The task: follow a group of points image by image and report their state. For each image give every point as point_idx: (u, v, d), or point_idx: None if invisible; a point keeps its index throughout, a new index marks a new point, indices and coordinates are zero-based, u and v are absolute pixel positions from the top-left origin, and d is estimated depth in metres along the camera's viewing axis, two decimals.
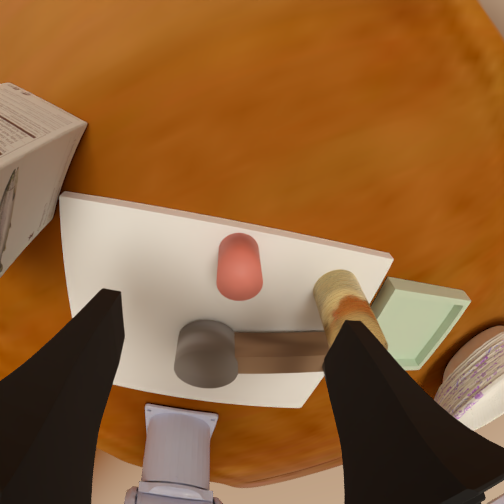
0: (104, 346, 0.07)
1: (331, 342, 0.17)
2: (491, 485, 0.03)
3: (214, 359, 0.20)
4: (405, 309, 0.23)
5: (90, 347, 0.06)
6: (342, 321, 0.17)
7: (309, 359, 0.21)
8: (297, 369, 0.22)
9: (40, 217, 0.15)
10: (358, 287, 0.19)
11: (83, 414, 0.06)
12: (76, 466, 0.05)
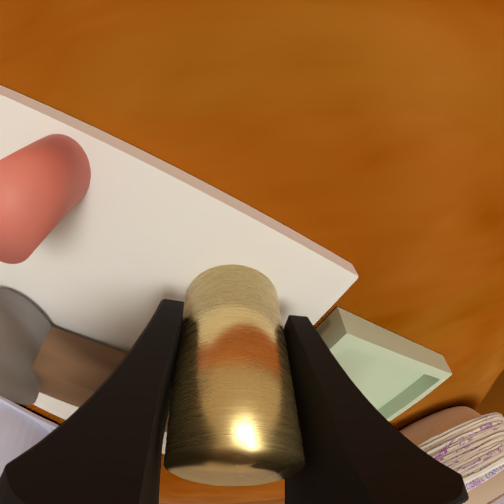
0: (173, 359, 0.08)
1: (169, 421, 0.06)
2: None
3: None
4: (351, 367, 0.14)
5: (168, 362, 0.07)
6: (205, 383, 0.06)
7: None
8: None
9: None
10: (273, 312, 0.09)
11: (159, 430, 0.06)
12: (155, 484, 0.05)
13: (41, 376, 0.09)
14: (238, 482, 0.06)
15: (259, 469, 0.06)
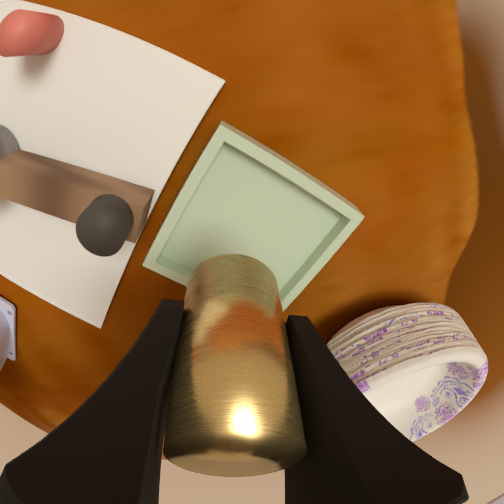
0: (173, 359, 0.08)
1: (168, 410, 0.06)
2: None
3: None
4: (247, 189, 0.17)
5: (168, 362, 0.07)
6: (200, 370, 0.06)
7: (71, 193, 0.13)
8: (58, 210, 0.13)
9: None
10: (270, 298, 0.09)
11: (159, 430, 0.06)
12: (155, 484, 0.05)
13: (0, 170, 0.12)
14: (242, 472, 0.07)
15: (260, 457, 0.06)
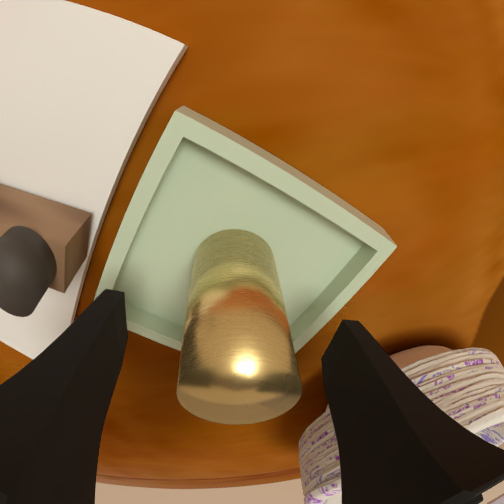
0: (107, 347, 0.07)
1: (181, 355, 0.08)
2: (488, 487, 0.03)
3: None
4: (225, 209, 0.11)
5: (93, 347, 0.06)
6: (209, 316, 0.08)
7: None
8: None
9: None
10: (267, 264, 0.10)
11: (87, 415, 0.06)
12: (80, 467, 0.05)
13: None
14: (246, 417, 0.08)
15: (261, 395, 0.07)
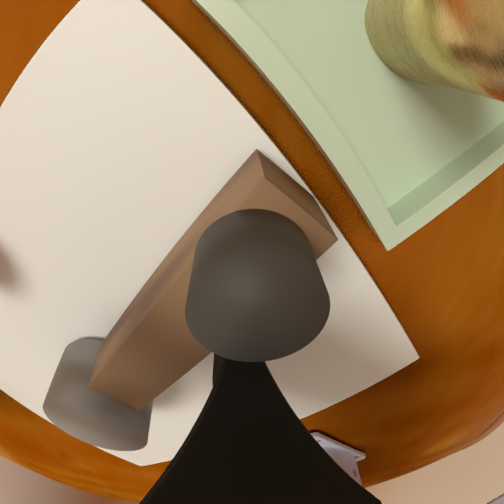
0: None
1: None
2: None
3: (63, 409, 0.09)
4: None
5: (260, 372, 0.07)
6: None
7: (169, 313, 0.07)
8: (196, 349, 0.08)
9: None
10: None
11: None
12: None
13: (100, 390, 0.09)
14: None
15: None
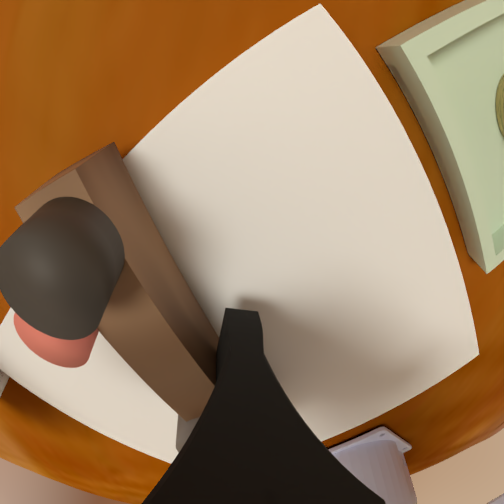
0: None
1: None
2: None
3: None
4: (482, 76, 0.07)
5: (261, 373, 0.07)
6: None
7: (109, 326, 0.07)
8: (159, 334, 0.08)
9: None
10: None
11: None
12: None
13: (191, 416, 0.10)
14: None
15: None
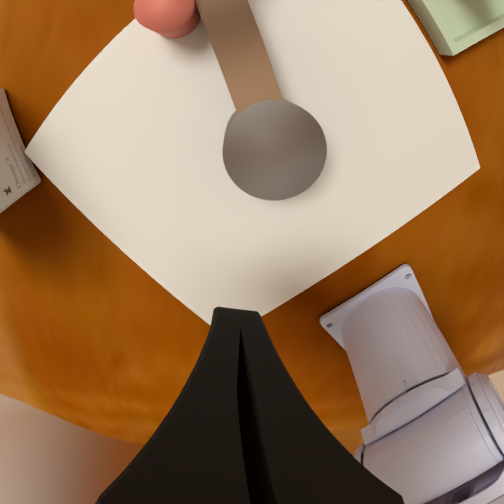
0: None
1: None
2: None
3: (238, 149, 0.12)
4: None
5: (236, 370, 0.07)
6: None
7: (206, 2, 0.09)
8: (239, 6, 0.10)
9: (8, 171, 0.13)
10: None
11: None
12: None
13: (243, 103, 0.12)
14: None
15: None
